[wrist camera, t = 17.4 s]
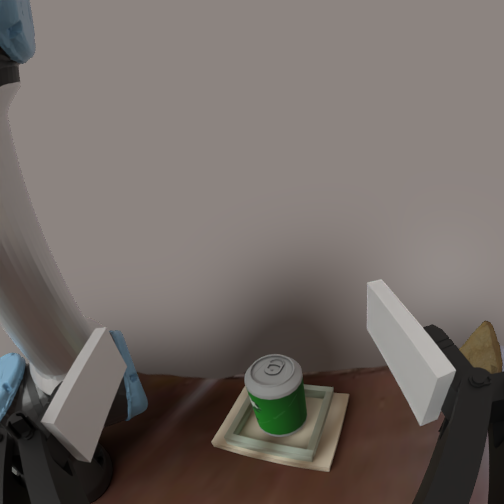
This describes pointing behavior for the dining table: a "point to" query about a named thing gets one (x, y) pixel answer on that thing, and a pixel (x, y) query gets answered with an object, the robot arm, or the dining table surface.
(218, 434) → the stand
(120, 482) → the dining table surface
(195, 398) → the dining table surface
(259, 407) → the soda can
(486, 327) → the rock
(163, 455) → the dining table surface
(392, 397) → the dining table surface
